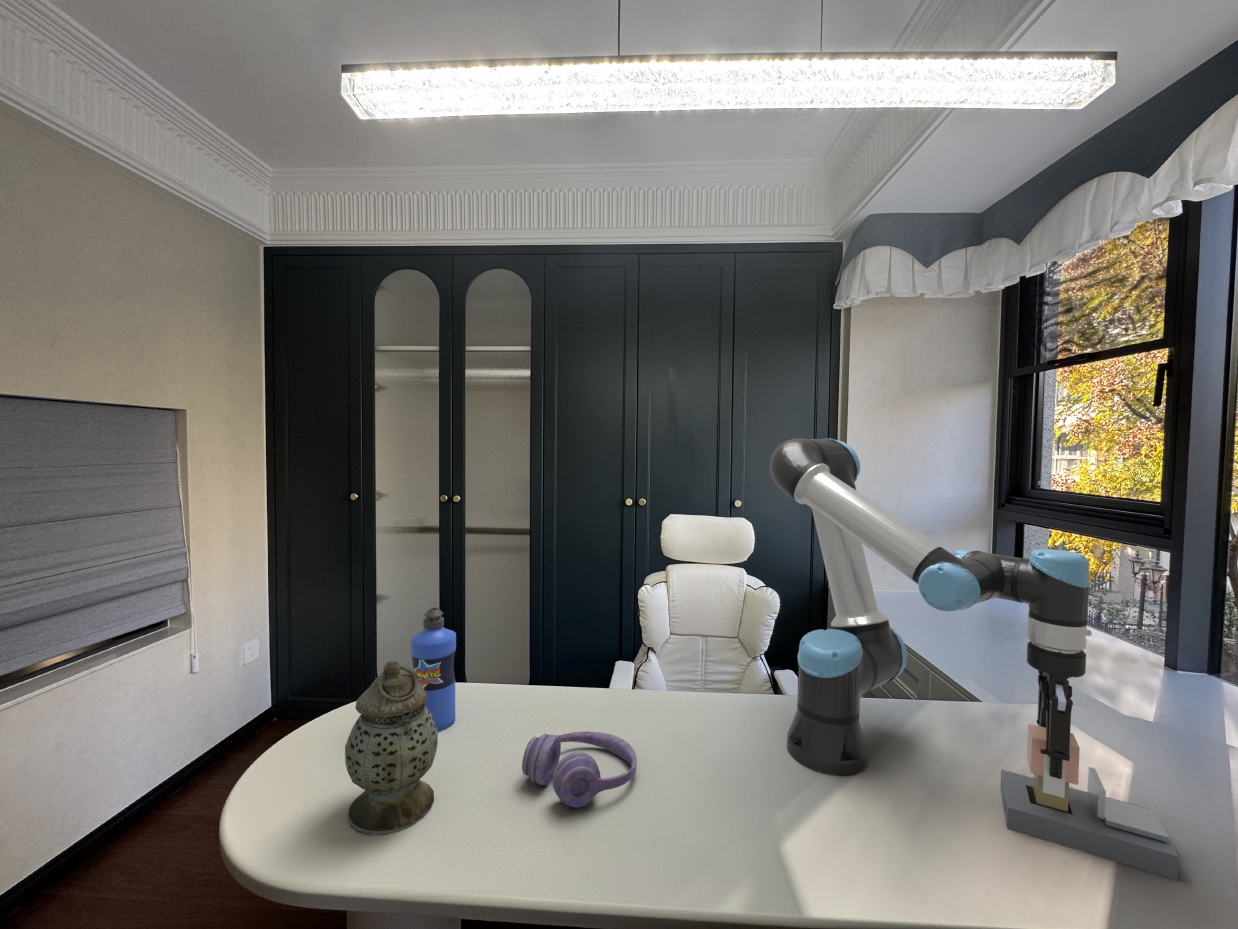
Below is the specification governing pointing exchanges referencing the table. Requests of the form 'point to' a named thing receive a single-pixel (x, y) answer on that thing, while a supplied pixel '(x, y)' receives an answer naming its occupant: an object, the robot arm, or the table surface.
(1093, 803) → the shutter
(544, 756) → the headphones
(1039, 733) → the plug
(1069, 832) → the socket block
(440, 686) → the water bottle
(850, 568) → the robot arm
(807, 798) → the table surface
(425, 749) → the lantern
